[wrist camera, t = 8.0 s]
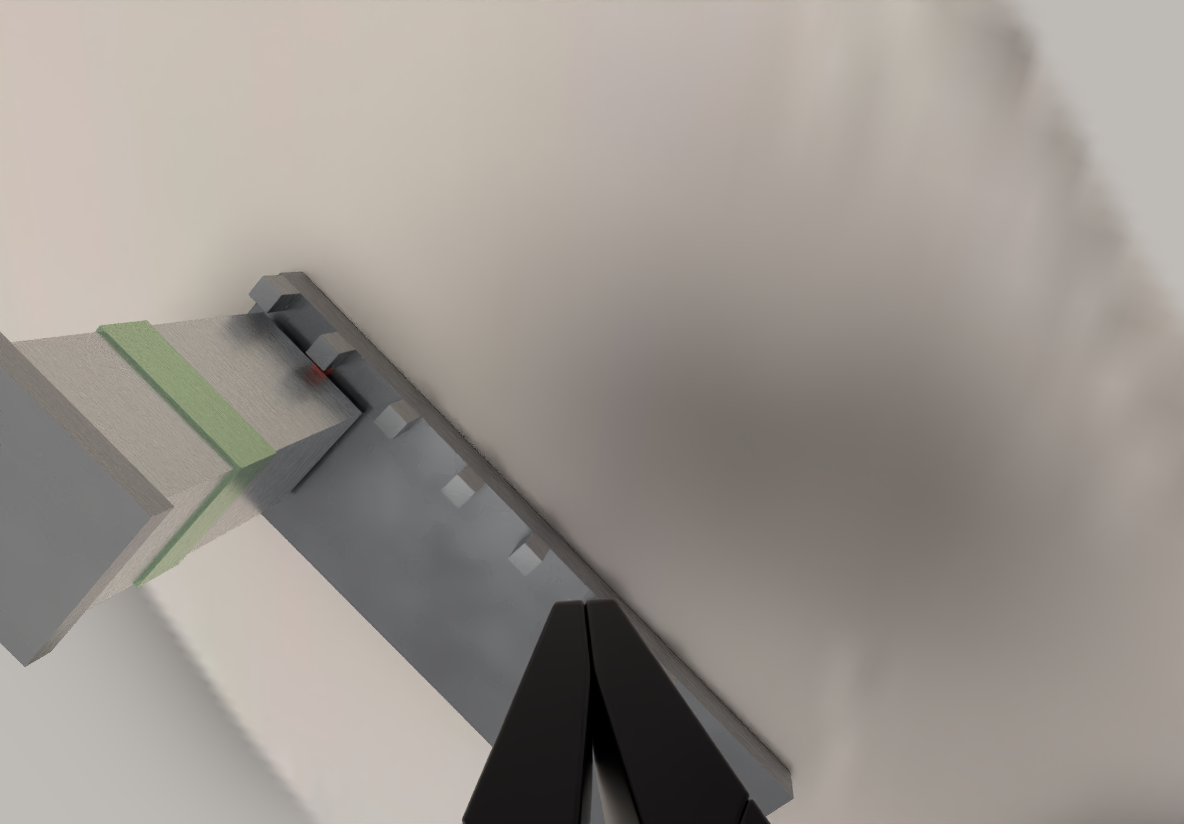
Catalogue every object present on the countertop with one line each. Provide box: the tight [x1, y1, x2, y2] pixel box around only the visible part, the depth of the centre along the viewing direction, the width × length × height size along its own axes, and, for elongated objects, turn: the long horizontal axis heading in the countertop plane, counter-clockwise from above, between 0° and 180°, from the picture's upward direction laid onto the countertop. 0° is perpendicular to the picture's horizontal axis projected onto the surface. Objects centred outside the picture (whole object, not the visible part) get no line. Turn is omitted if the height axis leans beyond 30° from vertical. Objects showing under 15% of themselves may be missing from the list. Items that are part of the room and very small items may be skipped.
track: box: [248, 272, 794, 824], centre depth 23 cm, size 24×7×4 cm, turn 45°
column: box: [0, 312, 362, 667], centre depth 19 cm, size 5×5×9 cm
